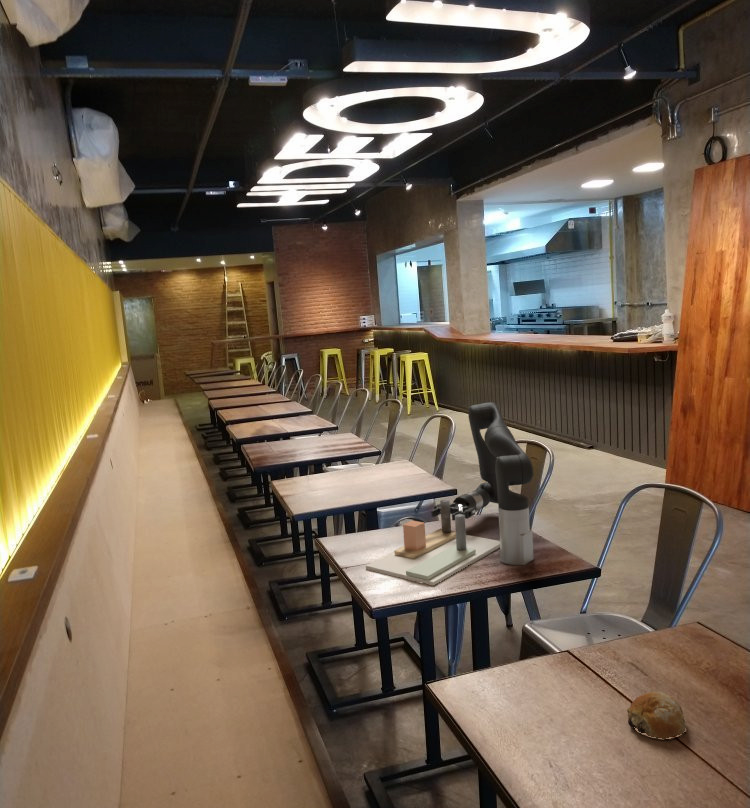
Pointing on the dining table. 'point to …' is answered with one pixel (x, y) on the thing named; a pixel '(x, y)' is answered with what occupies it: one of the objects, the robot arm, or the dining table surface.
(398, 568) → the lane board
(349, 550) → the dining table surface
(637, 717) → the bread roll
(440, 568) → the sage strip
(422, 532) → the terracotta block
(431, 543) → the oak strip
